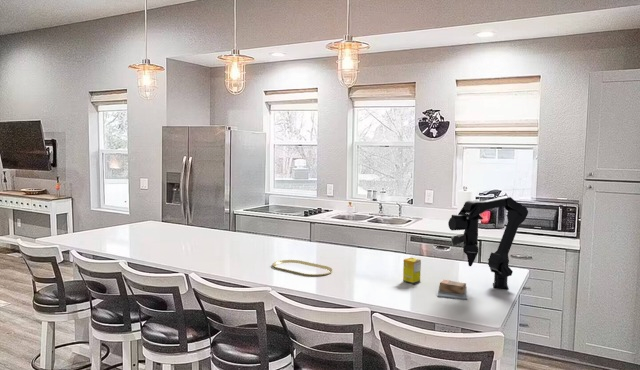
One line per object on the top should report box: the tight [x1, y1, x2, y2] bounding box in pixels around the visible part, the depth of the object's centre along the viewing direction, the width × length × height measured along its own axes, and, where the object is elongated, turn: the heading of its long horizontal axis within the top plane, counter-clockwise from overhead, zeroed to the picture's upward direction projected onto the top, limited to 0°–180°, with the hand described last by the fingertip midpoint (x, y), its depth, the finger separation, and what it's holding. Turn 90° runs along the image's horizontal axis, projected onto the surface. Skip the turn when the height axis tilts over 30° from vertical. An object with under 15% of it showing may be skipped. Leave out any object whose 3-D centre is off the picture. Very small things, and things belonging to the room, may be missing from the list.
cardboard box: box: [439, 279, 467, 294], centre depth 209 cm, size 10×6×4 cm, turn 60°
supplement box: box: [402, 257, 422, 285], centre depth 224 cm, size 6×6×11 cm
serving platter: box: [272, 259, 333, 277], centre depth 246 cm, size 19×35×2 cm, turn 52°
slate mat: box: [437, 284, 468, 301], centre depth 209 cm, size 18×12×1 cm, turn 163°
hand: (469, 263), depth 212 cm, fingers open, 9 cm apart
